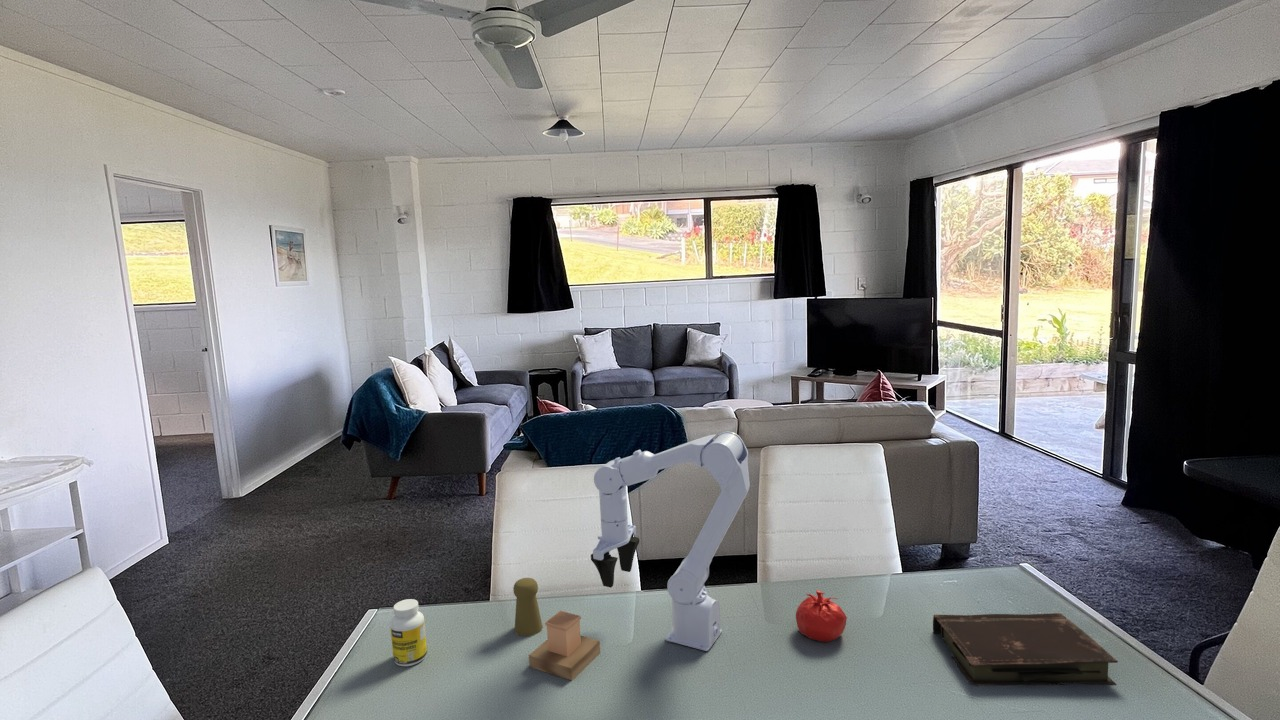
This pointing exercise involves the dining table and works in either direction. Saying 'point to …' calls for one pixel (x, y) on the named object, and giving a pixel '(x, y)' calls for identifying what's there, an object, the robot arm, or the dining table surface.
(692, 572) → the robot arm
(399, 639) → the pill bottle
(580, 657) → the walnut block
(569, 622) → the square wooden stamp
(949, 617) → the diary
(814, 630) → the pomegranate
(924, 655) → the dining table surface
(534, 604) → the olive pawn
